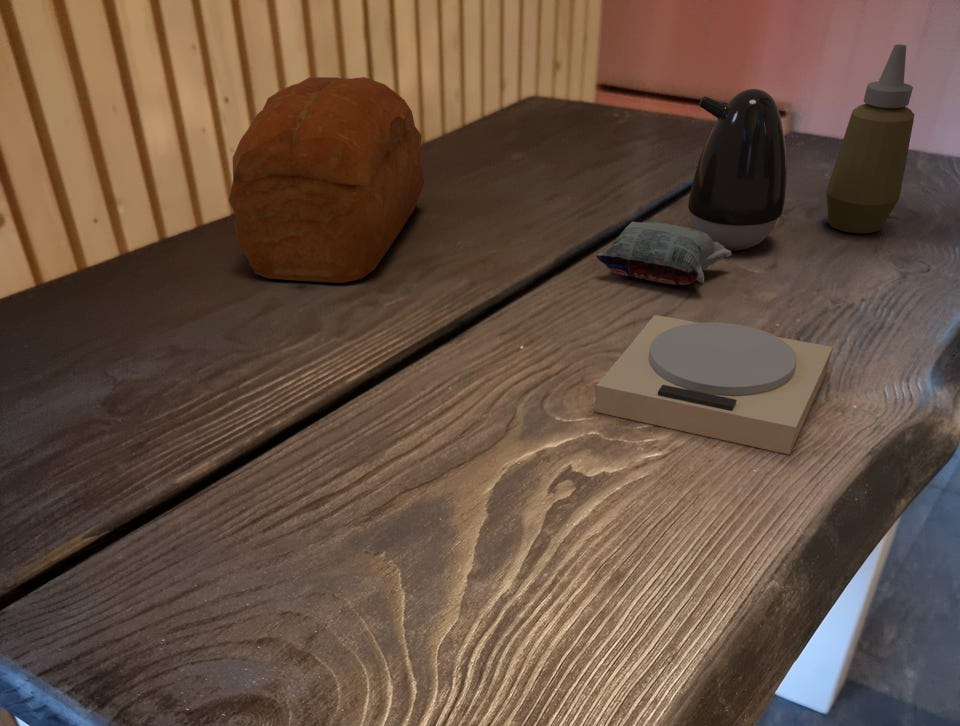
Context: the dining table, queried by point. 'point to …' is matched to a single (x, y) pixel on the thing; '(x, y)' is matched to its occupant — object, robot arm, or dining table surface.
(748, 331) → the scale
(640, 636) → the dining table surface
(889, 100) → the squeeze bottle
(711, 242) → the packaged food
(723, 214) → the pump dispenser
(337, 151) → the bread
